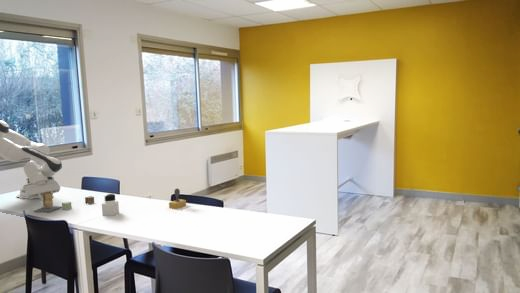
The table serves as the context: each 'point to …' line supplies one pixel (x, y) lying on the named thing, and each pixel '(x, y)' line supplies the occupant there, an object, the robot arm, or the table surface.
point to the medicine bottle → (110, 205)
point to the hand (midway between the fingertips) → (48, 199)
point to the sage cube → (66, 205)
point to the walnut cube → (89, 199)
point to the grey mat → (48, 209)
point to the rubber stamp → (177, 201)
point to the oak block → (47, 200)
